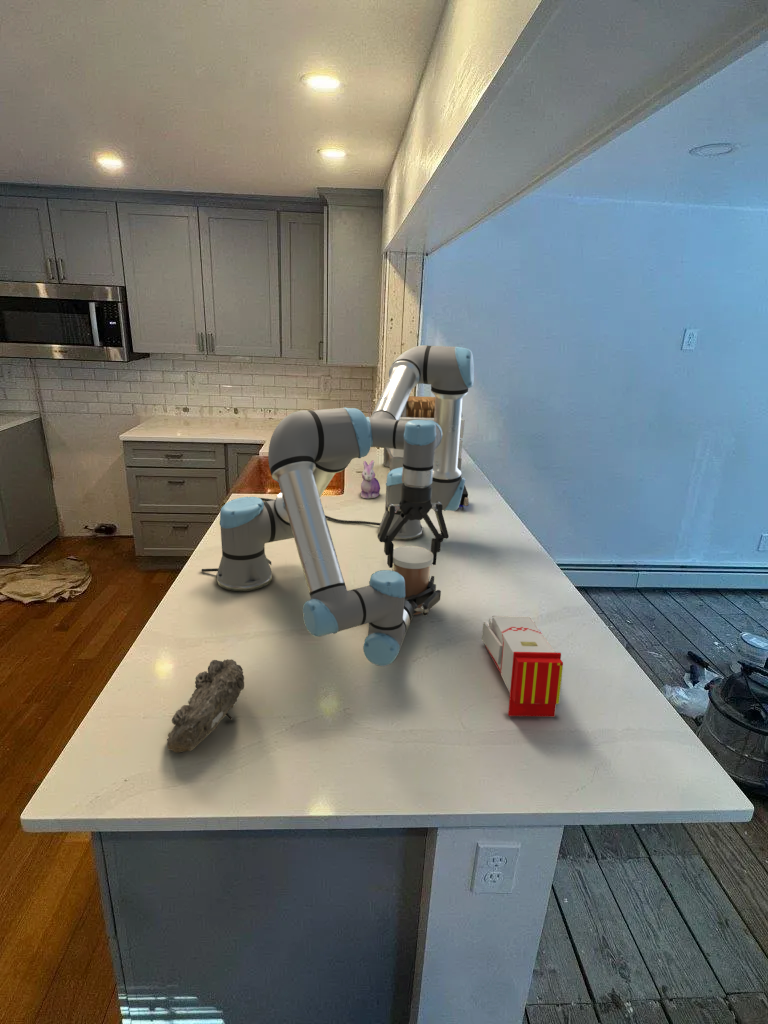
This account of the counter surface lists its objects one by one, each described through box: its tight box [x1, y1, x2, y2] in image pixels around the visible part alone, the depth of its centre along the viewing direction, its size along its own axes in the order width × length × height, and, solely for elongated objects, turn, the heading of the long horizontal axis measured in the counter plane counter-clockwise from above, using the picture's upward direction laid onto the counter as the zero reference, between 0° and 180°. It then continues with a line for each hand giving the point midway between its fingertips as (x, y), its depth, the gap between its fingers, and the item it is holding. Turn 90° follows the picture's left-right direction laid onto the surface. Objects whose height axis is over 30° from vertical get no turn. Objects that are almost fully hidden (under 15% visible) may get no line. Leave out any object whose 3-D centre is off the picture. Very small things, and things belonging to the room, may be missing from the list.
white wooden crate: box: [383, 395, 465, 472], centre depth 268 cm, size 34×33×41 cm
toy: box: [481, 615, 564, 718], centre depth 123 cm, size 12×13×30 cm
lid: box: [393, 545, 433, 569], centre depth 147 cm, size 11×11×2 cm
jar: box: [391, 563, 431, 616], centre depth 149 cm, size 10×10×15 cm
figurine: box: [360, 460, 381, 499], centre depth 236 cm, size 9×10×15 cm
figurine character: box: [459, 484, 470, 511], centre depth 230 cm, size 7×8×15 cm
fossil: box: [166, 658, 245, 754], centre depth 106 cm, size 22×10×15 cm
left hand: (413, 577), depth 154 cm, fingers closed on jar, 10 cm apart
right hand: (411, 564), depth 148 cm, fingers closed on lid, 11 cm apart
